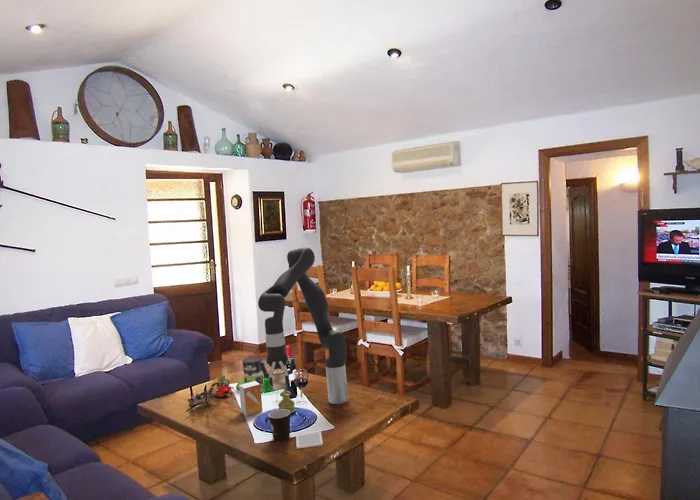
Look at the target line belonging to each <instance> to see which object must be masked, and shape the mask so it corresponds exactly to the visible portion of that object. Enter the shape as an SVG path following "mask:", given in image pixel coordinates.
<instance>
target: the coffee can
mask: <svg viewBox="0 0 700 500" xmlns="http://www.w3.org/2000/svg"><path fill="white" fill-rule="evenodd" d="M261 361H263V358H262V357H261V356H250V357H247V358H243V359H242V367H243V368H242V371H243V378H244V379H243V381H244V384H245V383H249V382H253V381H256V382H257V383H259V384H260V386H261V387H263V386H264V385H265V381H264V379H265V378H264V374H263V371H262V368H261V365H260V363H261ZM263 384H264V385H263ZM262 385H263V386H262Z"/></svg>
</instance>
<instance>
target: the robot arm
mask: <svg viewBox="0 0 700 500" xmlns="http://www.w3.org/2000/svg"><path fill="white" fill-rule="evenodd" d="M286 259H287V263H288V265H289V269H287V270H286V271H285V272H283V273H281V275H279V276H278V278H277V280H276V281H275V282H274V284H272V286H270V287H269V288H267V289H266V290H265V291H264V292H263V293H262V294H260V296H259V297H258V301H257V307H258V309H259V310H260V311H262V312H264V313H265V312H268V313H269V312H272V313H273V315H272V316H270V317H267V318H266V319H265V320H264V329H265V330H264V331H265V345H266V356H267V357H266V360H262V361H261V363H260V365H261V368H262V371H263V377H265V378H269V385H270V386H271V387H272V388H273V382H272V374H273V371H274V370H275V371H276V370H281V371H282V370H283V371H284V373H285V380H286V386H287V385H288V384H289V383H290V375H292V374H293V373H294V366H295V357H288V356H287V355H288V354H287V347H286V336H285V333H284V324H283V321H284V314H285V308H286V299H285V298H286V297H288V295H289V294H290V292H291V290H292V289H293V287H294V286H295V285H296V283H297V284H298V287H299V288H300V292H301V294H302V296H303V298H304V300H305V303H306V306H307V309H308V312H309V313H310V315H311V317H312V321H313V323H314V325H315V328H316V332H317V335H318V340H319V343H320V345H321V346H322V348H323V349H325V350H326V351H328V357H327V358H326V359H325V361H324V363H325V364H324V365H325V374H326V375H325V376H326V388H327V389H326V390H327V396H328V397H327V398H328V399H327V400H328V403H329V404H332V405H340V404H341V405H342V404H345V403H348V402H349V401H350V400H349V389H348V388H349V387H348V381H347V372H346V371H347V370H346V358H347V344H346V342H347V341H346V337H345V335H344V334H343V333H342V332H340V331H337V330H334V329H333V327H332V325H331V323H330V321H329V304H328V299H327V297H326V295H325V292H324V290H323V289H322V288H321V286H319V284H317V283H316V282H315V281H314V280H312V278H310V277H309V276H308V274H307V273H306V272H307V271H309V270H310V268H312V267H313V265H314V263H315V259H316V256H315V252H314V250H313V249H311V248H310V247H300V248H295V249H291V250H289V251H288V252H287V255H286ZM287 363H289V365H290V367H289V370H288V368H287V366H286V364H287ZM267 364H268V366H269V367H270V370H269V372H268V371H267V368H266V367H267Z"/></svg>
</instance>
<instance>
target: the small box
mask: <svg viewBox="0 0 700 500" xmlns="http://www.w3.org/2000/svg"><path fill="white" fill-rule="evenodd" d="M238 389H239V400H240V401H239V402H240V410H241V411H240V412H241V413H242V414H243V415H244V416H246V417H249V416H251V415H254V414H258V413H262V412H263V403H262V402H263V401H262V391H261V387H260V384H259V383H257V382H256V381H253V382H249V383H245V382H244V383H242V384H239V385H238Z"/></svg>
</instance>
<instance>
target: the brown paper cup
mask: <svg viewBox="0 0 700 500" xmlns="http://www.w3.org/2000/svg"><path fill="white" fill-rule="evenodd" d="M268 419H269V423H270V429H271V432H272V438H273V440H274V441H275V442H279V443H280V442H285V441H287V440H289V439H290V433H291V432H290V431H291V415H290V411H289V410H286V409H280V410H279V409H276V410H272V411H271V412H269V413H268Z"/></svg>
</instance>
